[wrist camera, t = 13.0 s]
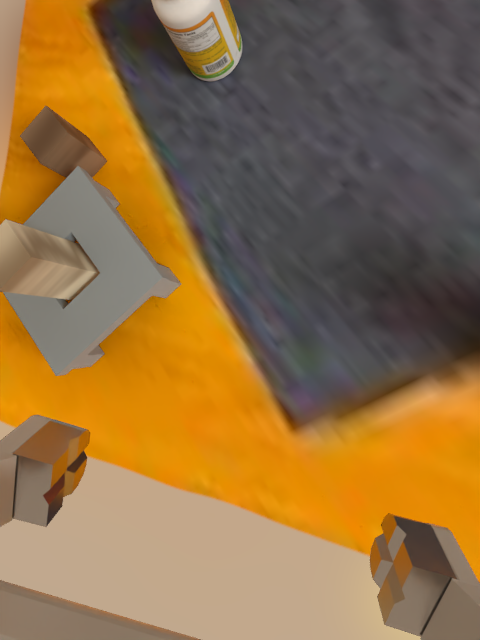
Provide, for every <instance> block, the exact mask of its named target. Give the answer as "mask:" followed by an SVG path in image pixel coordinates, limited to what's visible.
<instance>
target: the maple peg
mask: <svg viewBox="0 0 480 640" xmlns="http://www.w3.org/2000/svg"><path fill="white" fill-rule="evenodd" d="M99 274H100V272H99V270H98V269H97V267H96V266H95V265H94V263H93V262H92V260H91V259H90V258H89V256H88V255H87V253H86V252H85V251H84V249H83V248H82V246H81V245H80V244H78V243H75V242H72V241H69V240H66V239H63V238H60V237H57V236H54V235H51V234H48V233H45V232H42V231H39V230H37V229H34V228H31V227H28V226H25V225H22V224H19V223H16V222H13V221H10V220H7V219H5V220H4V222H3V223H2V224H1V225H0V292H9V293H17V294H25V295H34V296H42V297H50V298H59V299H67V300H73V299H74V298H75V297H77V296H78V295H79V294H80V293H81V292H82V291H83V290H84V289H85V288H86V287H87V286H88V285H89V284H90V283H91V282H92V281H93V280H94V279H95V278H96V277H97V276H98V275H99Z"/></svg>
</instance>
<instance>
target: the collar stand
mask: <svg viewBox="0 0 480 640" xmlns="http://www.w3.org/2000/svg"><path fill="white" fill-rule="evenodd" d="M119 204H120V203H119V202H118V201H117V200H116V198H115V197H114V196H113V194H112V193H111V192H110V190H109V189H107V188H105V187H104V186H102V185H100V184H99V183H97V182H96V181H94V180H93V179H92V177H91V176H90V175H89V173H88V172H87V171H86V170H84V169H82V168H81V167H79V166H77V167H76V168H75V169H74V170H73V172H72V173H71V174H70V175H69V176H68V177H67V178H66V179H65V180H64V181H63V182H62V183H61V184H60V186H59V187H58V188H57V189H56V190H55V191H54V192H53V193H52V194H51V195H50V196H49V197H48V198H47V199H46V201H45V202H44V203H43V204H42V205H41V206H40V207H39V208H38V209H37V210H36V211H35V212H34V213H33V214H32V216H31V217H30V218H29V219H28V220H27V221H26V222H25V223H24V224H23V225H25V226H28V227H31V228H34V229H37V230H39V231H42V232H45V233H48V234H51V235H54V236H57V237H60V238H63V239H66V240H69V241H72V242H74V241H75V240H76V239H77V241H78V242H79V244H80V245H81V246H82V248H83V249H84V251H85V252H86V253H87V255H88V256H89V258H90V259H91V260H92V262H93V263H94V265H95V266H96V267H97V269H98V270H99V272H100V274H99V275H98V276H97V277H96V278H95V279H94V280H93V281H92V282H91V283H90V284H89V285H88V286H87V287H86V288H85V289H84V290H83V291H82V292H81V293H80V294H79V295H78V296H77V297H75V298H74V299H73V300H72V301H71V302H70V303H69V304H68V302H67V301H66V300H65V299H59V298H50V297H42V296H34V295H25V294H17V293H9V292H3V293H4V295H5V296H6V298H7V299H8V301H9V303H10V304H11V306H12V307H13V309H14V310H15V312H16V314H17V315H18V317H19V318H20V320H21V321H22V323H23V325H24V326H25V328H26V329H27V331H28V332H29V334H30V336H31V337H32V339H33V340H34V342H35V343H36V345H37V346H38V348H39V350H40V351H41V353H42V354H43V356H44V357H45V359H46V361H47V362H48V364H49V365H50V367H51V368H52V370H53V372H54V373H55V375H56V376H59V375H66V374H67V373H68V372H69V371H71V370H72V369H76V368H84V367H91V366H92V365H93V364H94V363H95V362H96V361H97V360H98V359H100V358H101V357H102V356H103V355H104V352H103V351H102V349H101V348H100V347H99V344H100V343H101V342H102V341H103V340H104V339H105V338H106V337H107V336H108V335H110V334H111V333H112V332H113V331H114V330H115V329H116V328H117V327H118V326H119V325H120V324H121V323H123V322H124V321H125V320H126V319H127V318H128V317H129V316H130V315H131V314H132V313H133V312H134V311H136V310H137V309H138V308H139V307H140V306H141V305H142V304H143V303H144V302H145V301H146V300H147V299H149V298H150V297H151V296H157V297H163V298H166V297H168V296H169V295H170V294H171V293H172V292H173V291H174V290H175V289H176V288H177V287H179V286H180V285H181V283H180V282H179V281H178V279H177V278H176V277H175V275H174V274H173V273H172V271H171V270H170V269H169V268H168V267H165V266H162V265H159V264H157V263H156V261H155V260H154V259H153V258H152V256H151V255H150V254H149V252H148V251H147V250H146V248H145V247H144V246H143V244H142V243H141V242H140V240H139V239H138V238H137V236H136V235H135V234H134V233H133V231H132V230H131V229H130V227H129V226H128V225H127V223H126V222H125V221H124V219H123V218H122V217H121V215H120V214H119V213H118V211H117V210H116V209H115V208H116V207H117V206H118V205H119Z"/></svg>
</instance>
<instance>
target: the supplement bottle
mask: <svg viewBox="0 0 480 640" xmlns="http://www.w3.org/2000/svg"><path fill="white" fill-rule="evenodd" d="M152 4H153V8H154V10H155V12H156V14H157V16H158V18H159V19H160V21H161V23H162V24H163V26H164V28H165V29H166V31H167V33H168V34H169V36H170V38H171V39H172V41H173V43H174V44H175V46H176V48H177V49H178V51H179V53H180V54H181V56H182V58H183V59H184V61H185V63H186V64H187V66H188V68H189V69H190V71H191V72H192V73H193V74H194V75H195V76H196V77H197V78H199V79H201V80H204V81H216V80H219V79H222V78H224V77H225V76H227V75H228V74H230V73H231V72H232V71H233V70H234V68H235V67H236V65H237V64H238V62H239V60H240V57H241V53H242V39H241V35H240V32H239V29H238V27H237V24H236V21H235V18H234V15H233V13H232V10H231V7H230V4H229V1H228V0H152Z"/></svg>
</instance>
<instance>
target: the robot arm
mask: <svg viewBox="0 0 480 640" xmlns="http://www.w3.org/2000/svg"><path fill="white" fill-rule="evenodd" d="M89 440H90V432H89V430H87V429H84V428H80V427H77V426H74V425H71V424H67V423H64V422H61V421H57V420H53V419H50V418H47V417H43V416H40V415H33V416H31V417H30V418H28V419H27V420H26V421H25V422H23V423H22V424H21V425H19V426H18V427H17V428H16V429H14V430H13V431H12V432H10V433H9V434H8V435H7V436H5V437H4V438H3V439H2V440H0V527H1V526H2V525H4V524H6V523H8V522H10V521H11V520H12V518H13V519H17V520H21V521H25V522H29V523H33V524H37V525H40V526H45V527H46V526H47V525H48V524H49V523H50V521H51V520H52V518H53V517H54V516H55V515H56V514H57V512H58V511H59V510H60V508H61V507H62V502H63V497H65V496H67V495H70V494H72V493H73V491H74V490H75V489H76V487H77V486H78V484H79V482H80V480H81V478H82V476H83V474H84V471H85V467H86V462H87V456H86V454H85V452H84V449H85V448H86V447H87V446H88V444H89ZM381 526H382V529H383V534H382V535H380V536H378V537H376V538H375V540H374V543H373V545H372V548H371V555H370V567H371V573H372V577H373V580H374V581H375V582H376V584H377V585H378V586H379V587H380V592H379V594H378V596H377V597H378V601H379V605H380V609H381V613H382V616H383V621H384V624H385V625H387V626H390V627H393V628H396V629H399V630H402V631H405V632H408V633H411V634H415V635H417V636H421V640H480V584H479V582H478V580H477V578H476V576H475V574H474V572H473V571H472V569H471V567H470V565H469V563H468V561H467V560H466V558H465V556H464V554H463V552H462V550H461V549H460V547H459V545H458V543H457V541H456V539H455V538H454V536H453V534H452V532H451V531H450V530H449V529H447V528H445V527H441V526H437V525H433V524H429V523H423V522H419V521H415V520H412V519H408V518H404V517H401V516H397V515H393V514H390V513H388V514H387V515H386V516H385V517H384V519H383V522H382V524H381ZM0 640H200V639H197V638H193V637H190V636H187V635H183V634H180V633H177V632H173V631H170V630H166V629H163V628H160V627H156V626H153V625H150V624H146V623H143V622H139V621H136V620H132V619H129V618H126V617H123V616H119V615H116V614H112V613H109V612H106V611H102V610H99V609H96V608H92V607H89V606H86V605H82V604H79V603H75V602H72V601H68V600H66V599H62V598H59V597H55V596H52V595H49V594H45V593H42V592H39V591H35V590H32V589H28V588H25V587H21V586H18V585H15V584H11V583H8V582H5V581H2V580H0Z"/></svg>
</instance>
